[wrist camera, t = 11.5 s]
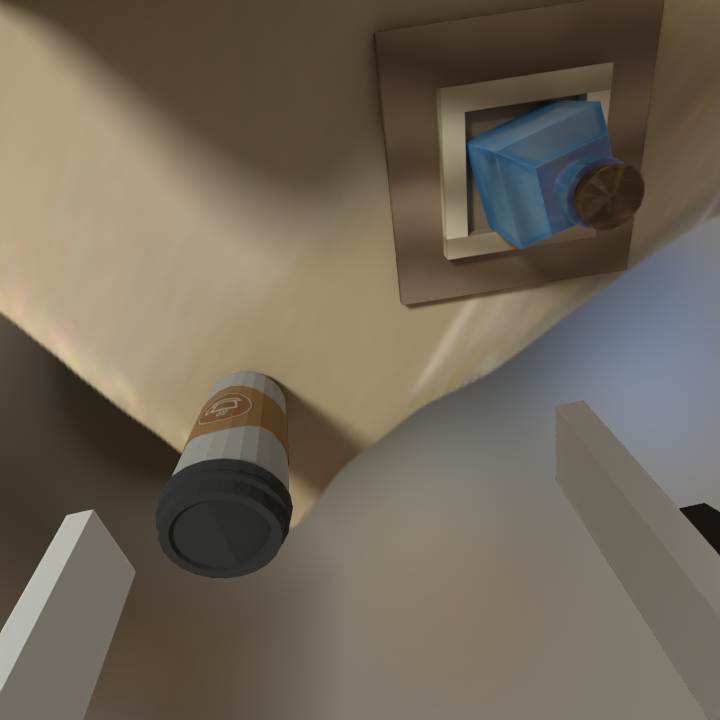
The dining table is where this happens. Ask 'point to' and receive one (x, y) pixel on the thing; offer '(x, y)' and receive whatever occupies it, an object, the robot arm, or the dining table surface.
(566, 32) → the socket board
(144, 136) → the dining table surface
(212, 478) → the coffee cup
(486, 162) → the perfume bottle
